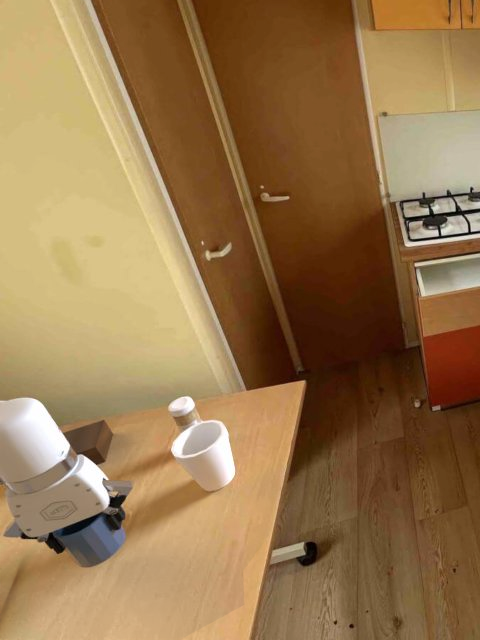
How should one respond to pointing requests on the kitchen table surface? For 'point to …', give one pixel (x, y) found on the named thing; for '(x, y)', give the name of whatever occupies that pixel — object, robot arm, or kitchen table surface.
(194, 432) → the foam cup
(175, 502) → the kitchen table surface
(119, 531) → the cup
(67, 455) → the robot arm
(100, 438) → the block
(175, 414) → the sprinkles bottle
